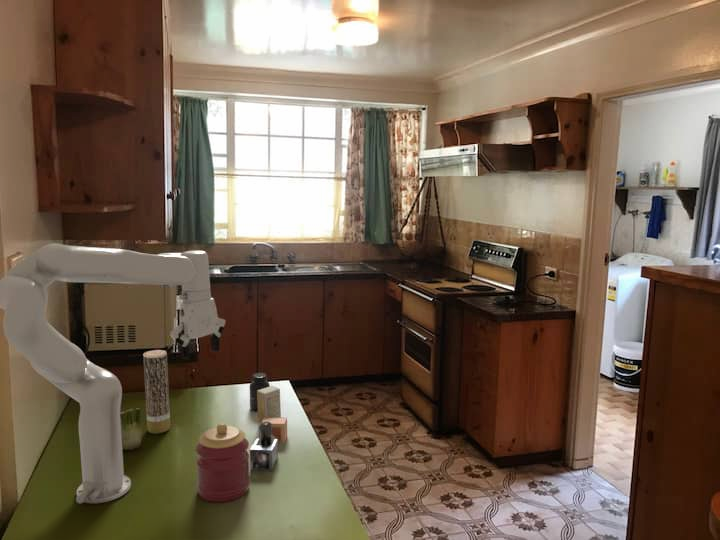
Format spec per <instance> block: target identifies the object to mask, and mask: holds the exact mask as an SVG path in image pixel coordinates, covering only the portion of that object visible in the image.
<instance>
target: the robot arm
mask: <svg viewBox="0 0 720 540" xmlns="http://www.w3.org/2000/svg"><path fill="white" fill-rule="evenodd" d="M209 264H210V263H209V255H208V253H207V252H206V251H204V250H186V251H183V252H161V253H157V254H151V253H144V252H143V253H142V252H140V251H134V250H130V249H121V248H112V247H111V248H110V247H94V246H93V247H92V246H82V245H81V246H79V245H67V244H61V243H56V242H55V243H53V242H52V243H47V244H45V245H43V246H42V247H40V248H38V249H36V250H35V251H34V252H32V253H30V254H29V255H28V256H27V257H25V258H24V259H23V260H21V261H20V262H19V263H17V264H16V265H14V266H13V267H11V268H10V269H9V270H7V271H6V272H5V273H6V274H5V273H4V274H5V276H4V277H3V278H2V279H1V280H0V309H1V310H3V311H4V313H3V319H2V321H3V322H2V327H3V333H4V336H5V338H6V340H7V342H8V343H9V345H10V346H12V348H13V349H15V350H16V352H18V353H19V354H20V355H22V356H23V357H25V359H26V360H28V361H29V363H30V365H31V368H32V369H33V370H34V371H35V372H37V374H39V375H40V376H42V377H43V378H45V379H46V380H47V381H48V382H49V383H51V384H52V385H54V387H56V388H57V389H59V391H61V392H63V393H64V394H66V395H67V396H68V397H70V398H72V399H73V400H74V401H76V402H78V403H79V406H80V411H79V417H78V437H79V447H80V449H79V450H80V451H79V452H80V462H81V463H80V464H81V465H80V466H81V476H82V477H81V478H82V483H81V484H80V485H79V486H78V488H77V489H76V497H75V501H76V503H77V504H83V503H86V504H102V503H107V502H111V501H114V500H116V499H118V498H121V497H122V496H124V495H126V494H127V493H128V491H130V489H131V488H132V480H131V478H130V477H129V476H127V475H125V472H124V471H125V469H124V454H123V448H122V436H121V417H120V413H121V409H122V408H121V405H122V399H123V398H122V397H123V387H122V384H121V381H120V380H119V378H118V377H117V376H116V375H115V374H113V373H112V372H111V371H109V370H107V369H105V368H103V367H100V366H99V365H96V364H95V363H93V362H91V361H90V360H89V359H88V358H87V357H86V355H85V353H84V352H83V350H82V349H81V348H80V347H79V346H77V345H76V344H75V343H74V342H71V341H70V340H69V339H67V338H66V337H65V336H64V335H62V334H61V333H60V332H59V331H58V330H56V329H55V328H54V326H53V325H51V324H50V323H49V322H48V320H47V316H46V315H47V314H46V311H47V307H48V301H49V300H48V299H49V298H48V297H49V296H48V292H47V290H46V288H47V287H49V286H50V285H51V284H53V283H54V282H55V281H59V282H65V283H96V284H97V283H98V284H99V283H103V284H122V285H123V284H124V285H126V284H127V285H153V286H154V285H155V286H156V285H157V286H160V285H161V286H181V294H178V299H179V300H182V301H181V302H180V305H179V306H180V307H179V325H177V326H176V327H175V328H173V330H171V331H170V333H169V336H170V337H171V338H172V340H173V342H175V343H176V344H177V345H178V346H179V351H180V358H181V359H183V360H185V361H189V360H190V359H191V357H190V356H191V355H190V346H189V345H188V344H189V342H190V340H193V339H199V338H203V337H207V336H209V335H210V337H209V338H210V349H211V350H212V351H214V352H220V338H221V336H222V335H221V334H222V333H223V331H224V327H225V326H226V319H223V318H220V317H219V316H218V311H217V310H218V309H217V305H216V301H215V299H214V298H213V297H212V295H211V281H210V280H211V279H210V265H209ZM179 334H180V337H179Z"/></svg>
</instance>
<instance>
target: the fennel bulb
mask: <svg viewBox="0 0 720 540" xmlns="http://www.w3.org/2000/svg"><path fill="white" fill-rule="evenodd" d="M120 421H121V436H122V450H124V451H133V450H137V449H139V448H140V446H141V445H142V444H141V443H142V440H143V432H142V431H143V430H142V423H141V407H138V408H137V407H136V408H135V410H134V408H131V409H128V410H125V411H122V412H121V411H120Z"/></svg>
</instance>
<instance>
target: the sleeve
mask: <svg viewBox="0 0 720 540" xmlns="http://www.w3.org/2000/svg"><path fill="white" fill-rule="evenodd" d="M278 444H279V443H277V439H274V442H273V444H272V446H261V445H260V438H256V439H255V440H254V442H253V444H251V446H250V449H249V463H250V464H249V466H250V469H249V471H257V470H274V468H275V465H276V463H275V462H277V459H278V458H277V457H278V455H279V453H278ZM258 452H269V462H268V464H267V465H266V466H259V465H257V463H256V461H255V459H256V456H257V454H258ZM273 467H274V468H273Z"/></svg>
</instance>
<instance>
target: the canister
mask: <svg viewBox="0 0 720 540" xmlns="http://www.w3.org/2000/svg"><path fill="white" fill-rule="evenodd" d="M249 444H250V443H249V441H248V440H247V438H246V434H245V432H244V431H243V430H242V429H239V428H237V427H235V426H233V425H227V424H226V423H223V422H221V423H218V425H217V426H214V427H211V428H209V429H207V430H206V431H205V432H203V433H202V434H200V436H199V437H198V443H197V445H196V446H195V452H196V454H197V458H196V461H195V462H196V467H197V469H196V470H197V473H196V474H197V482H196V487H197V488H196V489H197V492H198V495H199V497H200V498H202V499H203V500H205V501H208V502H212V503H213V502H214V503H224V502H230V501H233V500H236V499H238V498H241V497H242V496H244V495H245V494H246V493H247V492H248V491H249V489H250V488H249V487H250V480H251V478H250V475H249V474H250V472H249V471H250V469H249V466H250V464H249V463H250V461H249V460H250V453H248V448H249Z"/></svg>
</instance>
